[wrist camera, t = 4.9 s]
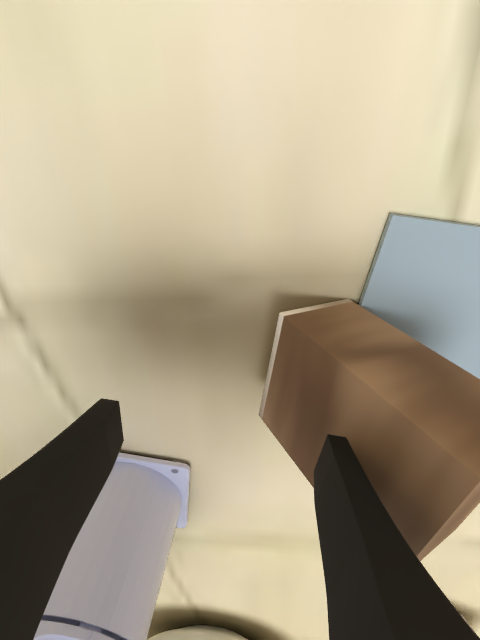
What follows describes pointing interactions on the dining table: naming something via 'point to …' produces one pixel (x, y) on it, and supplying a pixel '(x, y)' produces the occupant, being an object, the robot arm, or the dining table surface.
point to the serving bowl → (198, 634)
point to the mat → (429, 285)
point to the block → (378, 413)
